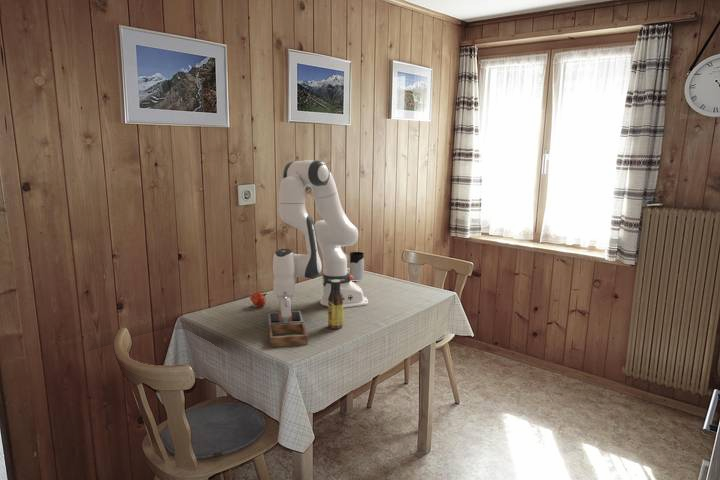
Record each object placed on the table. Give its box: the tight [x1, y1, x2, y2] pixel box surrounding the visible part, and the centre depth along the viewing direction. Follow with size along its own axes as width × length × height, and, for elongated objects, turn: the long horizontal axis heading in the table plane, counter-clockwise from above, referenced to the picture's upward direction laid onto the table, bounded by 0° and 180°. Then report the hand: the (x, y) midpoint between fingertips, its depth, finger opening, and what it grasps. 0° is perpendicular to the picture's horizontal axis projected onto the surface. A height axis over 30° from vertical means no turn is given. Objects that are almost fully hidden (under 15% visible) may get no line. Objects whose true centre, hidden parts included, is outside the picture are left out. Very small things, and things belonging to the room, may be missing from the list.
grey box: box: [267, 310, 305, 333], centre depth 208 cm, size 14×14×4 cm
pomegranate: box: [249, 292, 268, 309], centre depth 231 cm, size 7×7×10 cm
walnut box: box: [268, 322, 308, 348], centre depth 194 cm, size 14×14×4 cm
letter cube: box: [278, 311, 293, 323], centre depth 208 cm, size 5×5×5 cm
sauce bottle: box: [327, 279, 344, 330], centre depth 205 cm, size 7×6×20 cm
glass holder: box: [344, 251, 365, 280], centre depth 279 cm, size 9×14×15 cm, turn 59°
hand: (285, 321), depth 208 cm, fingers open, 6 cm apart
